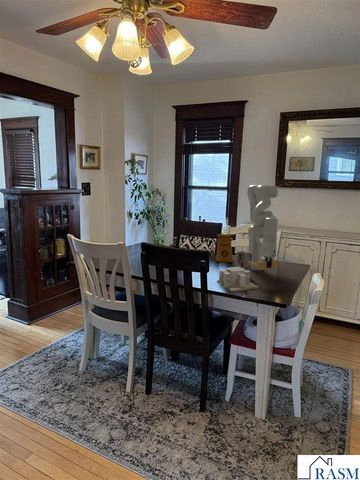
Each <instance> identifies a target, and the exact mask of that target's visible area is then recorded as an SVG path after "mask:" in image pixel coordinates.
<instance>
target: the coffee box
mask: <svg viewBox="0 0 360 480" xmlns="http://www.w3.org/2000/svg"><path fill="white" fill-rule="evenodd" d="M251 260H252V254H250V253H249V252H247V251H237V252H236V260H235V261H236V262H235V264H236V266H235V267H240V268H244V269H246V270H248V271H250V279H251V277H252V270H251V265H249V264H248V261H251Z"/></svg>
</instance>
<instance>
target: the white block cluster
mask: <svg viewBox="0 0 360 480" xmlns="http://www.w3.org/2000/svg"><path fill="white" fill-rule="evenodd" d="M218 272H219V275H218V279H217V280H216V283H218V284H220V285H221V286H222V287H224V288H226V289H227V290H228V291H229V292H238V291H246V290H255V289H256V290H257V289H259V285H256V284H255V283H253V282H251V278H250V271H248V270H246V269H244V268H240V267H236V266H233V267H226V268H225V269H219V271H218Z"/></svg>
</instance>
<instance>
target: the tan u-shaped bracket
mask: <svg viewBox="0 0 360 480" xmlns="http://www.w3.org/2000/svg"><path fill="white" fill-rule="evenodd" d="M267 262H268V261H265V260H262V261H260V262H257V264H256V263H254V262H252V261H248V264H249V265H251V266H253V267H255V268H257V269H263V270H265V269H268V268H267ZM279 263H280V260H279V259H275V260H273V261H272V267H271V268H270V269H273V268H279V266H280V265H279Z"/></svg>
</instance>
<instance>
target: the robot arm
mask: <svg viewBox="0 0 360 480" xmlns="http://www.w3.org/2000/svg"><path fill="white" fill-rule="evenodd" d="M246 193H247V194H246V195H247V199H248V201H249V207H250V208H249V217H250V219H249V221H250V222H251V223H252V224H253V225H250V226H249V227H248V228H247V229H248V230H247V234H248V253H250V254H252V260H251V261H252V262H254V263H256V264H257V262H260V261H268V262H267V269H272V268H271V267H272V261H273V260H276V257H277V247H278V246H277V237H278V236H277V234H278V223H279V220H278V218H277V217H276V216H274V214H273V211H272V210H269V208H270V207H271V205H272V201H271V199H275V198H277V197H278V195H279V191H278V187H277V186H276V185H274V184H251V185H249V186H248V187H247V192H246ZM261 240H262V241H261ZM262 258H264V260H263V259H262ZM263 270H264V269H257V268H255V267H253V266H251V271H263Z"/></svg>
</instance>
